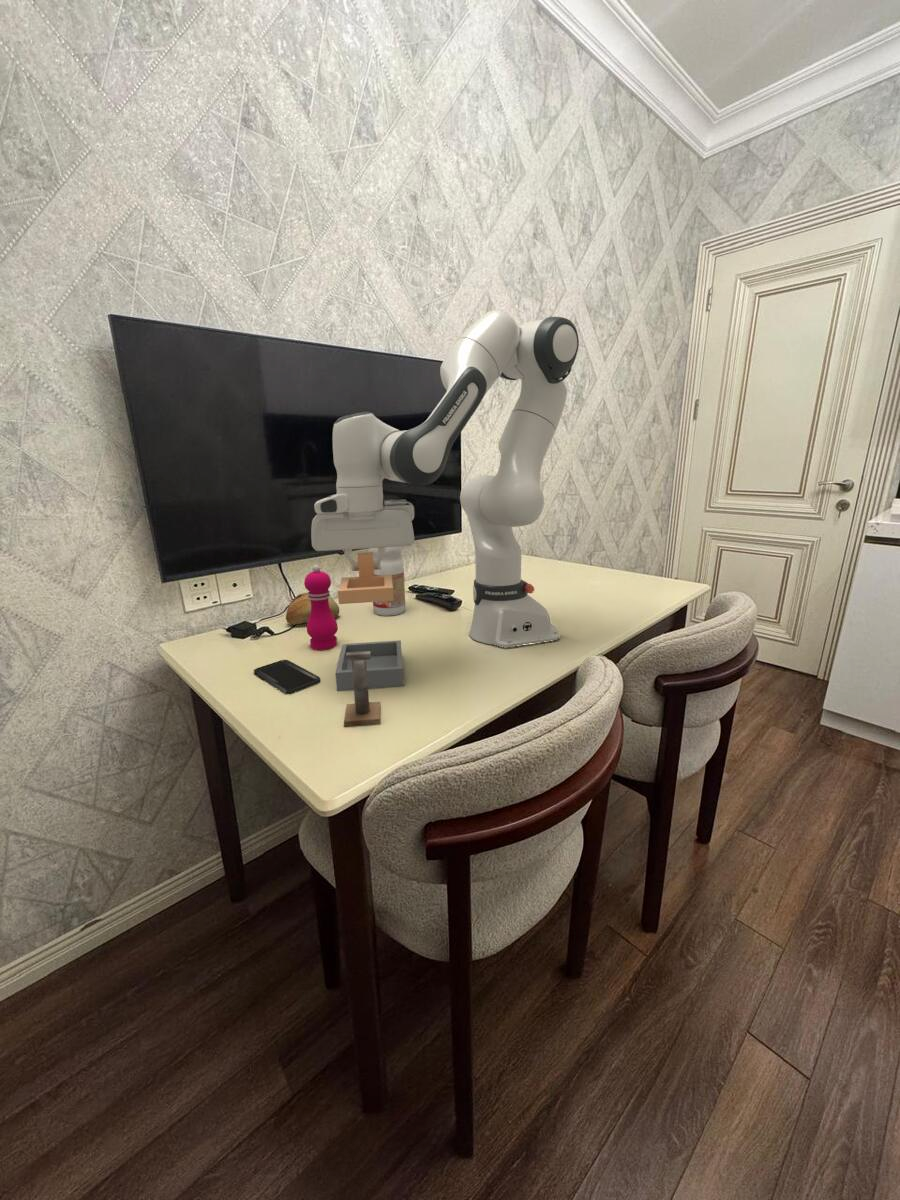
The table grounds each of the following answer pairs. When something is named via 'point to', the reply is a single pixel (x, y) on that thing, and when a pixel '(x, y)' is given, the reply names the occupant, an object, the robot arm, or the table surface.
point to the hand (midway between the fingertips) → (366, 569)
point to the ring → (365, 584)
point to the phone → (286, 676)
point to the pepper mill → (320, 611)
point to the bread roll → (305, 609)
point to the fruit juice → (394, 567)
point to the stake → (361, 694)
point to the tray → (372, 665)
